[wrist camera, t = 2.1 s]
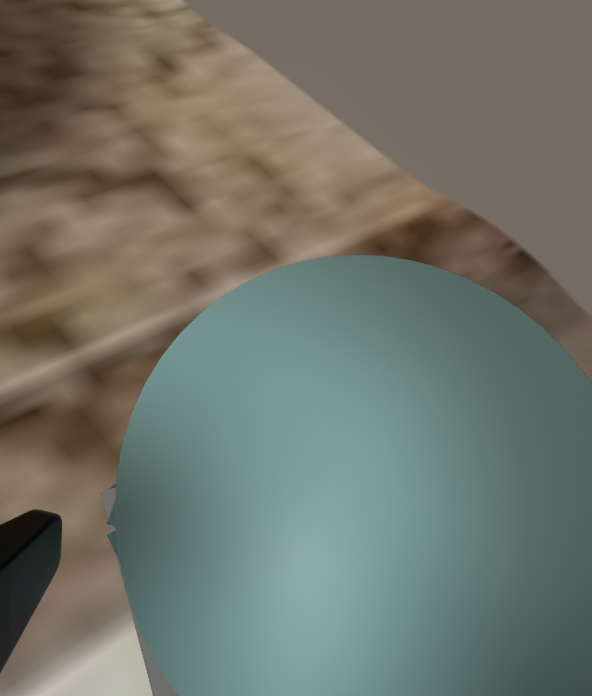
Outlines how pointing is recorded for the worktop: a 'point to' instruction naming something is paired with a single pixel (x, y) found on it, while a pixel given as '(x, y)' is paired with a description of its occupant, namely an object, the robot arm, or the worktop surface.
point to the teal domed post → (361, 492)
